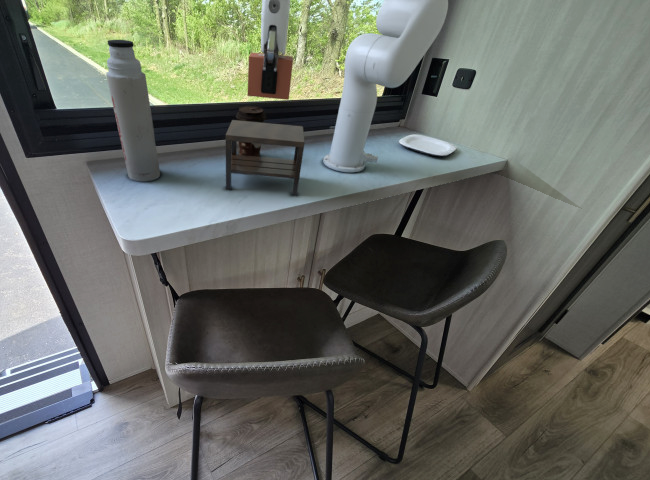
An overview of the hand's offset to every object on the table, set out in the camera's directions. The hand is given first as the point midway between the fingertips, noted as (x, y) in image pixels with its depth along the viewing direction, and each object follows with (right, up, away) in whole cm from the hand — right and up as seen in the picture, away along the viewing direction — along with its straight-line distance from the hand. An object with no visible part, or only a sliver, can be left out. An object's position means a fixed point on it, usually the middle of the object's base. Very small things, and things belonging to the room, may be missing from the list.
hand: (269, 89), depth 72 cm
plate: (+58, +7, +45) cm, 74 cm away
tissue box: (0, -1, +1) cm, 1 cm away
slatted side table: (-1, -16, +15) cm, 22 cm away
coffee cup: (-5, -3, +28) cm, 29 cm away
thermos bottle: (-32, -14, +13) cm, 38 cm away
